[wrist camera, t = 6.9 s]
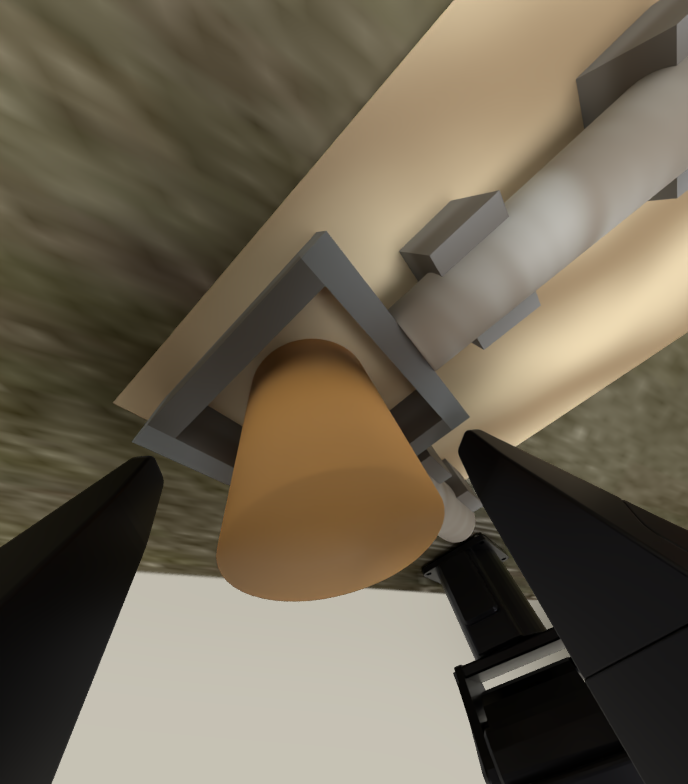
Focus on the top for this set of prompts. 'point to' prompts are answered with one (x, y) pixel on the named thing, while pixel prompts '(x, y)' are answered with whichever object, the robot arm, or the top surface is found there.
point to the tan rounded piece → (322, 482)
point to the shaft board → (466, 151)
